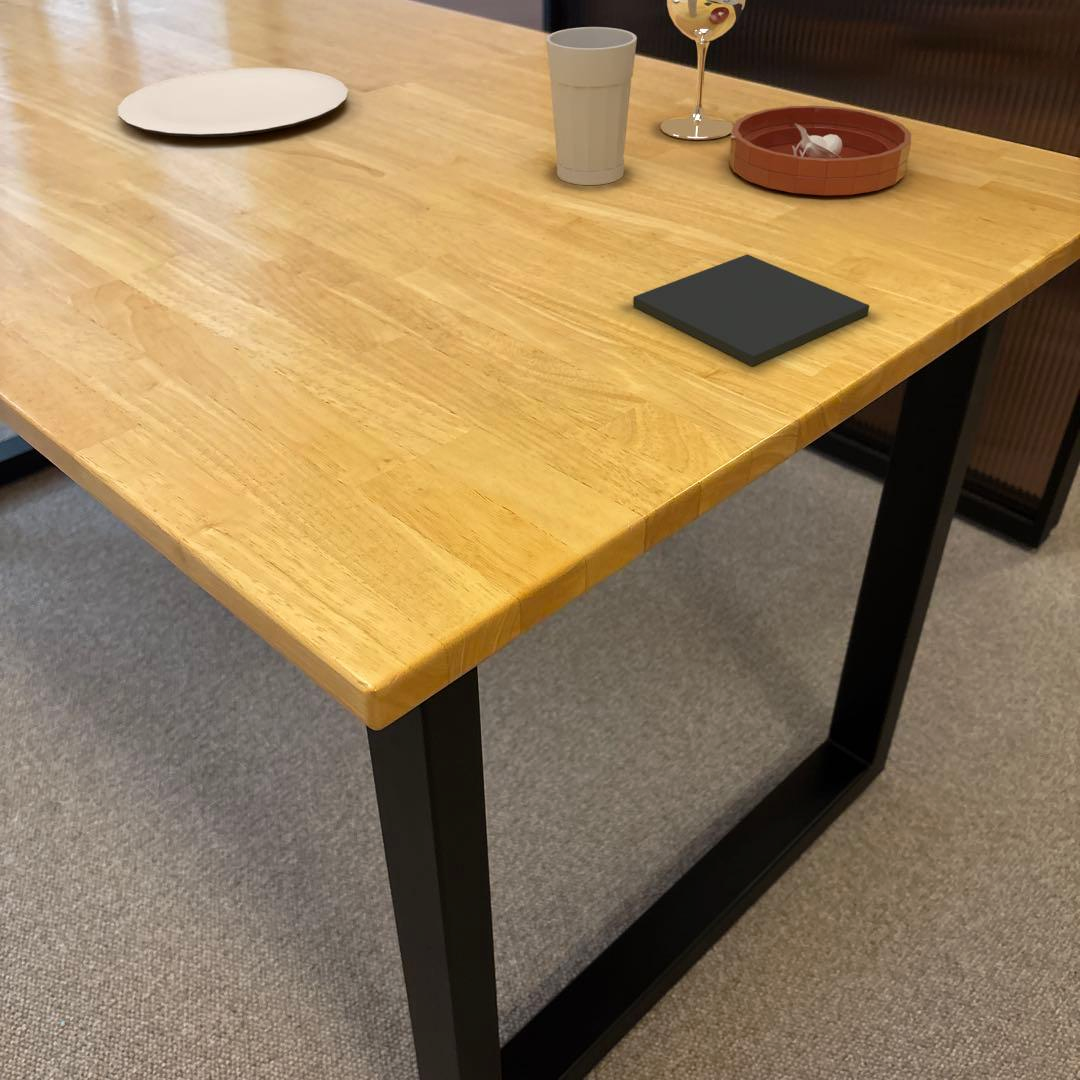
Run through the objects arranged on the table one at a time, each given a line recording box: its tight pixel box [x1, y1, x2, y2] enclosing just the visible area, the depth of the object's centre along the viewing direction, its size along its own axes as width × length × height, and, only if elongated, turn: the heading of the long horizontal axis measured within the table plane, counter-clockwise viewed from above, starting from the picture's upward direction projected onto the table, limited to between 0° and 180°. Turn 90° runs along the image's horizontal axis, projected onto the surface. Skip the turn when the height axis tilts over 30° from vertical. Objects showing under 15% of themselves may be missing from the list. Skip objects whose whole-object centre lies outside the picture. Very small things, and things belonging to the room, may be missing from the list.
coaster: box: [632, 253, 870, 367], centre depth 79 cm, size 12×12×1 cm
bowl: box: [728, 105, 912, 196], centre depth 102 cm, size 16×16×4 cm
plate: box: [117, 66, 349, 138], centre depth 120 cm, size 25×25×2 cm
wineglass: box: [660, 0, 747, 141], centre depth 107 cm, size 8×8×20 cm
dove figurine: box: [792, 123, 842, 159], centre depth 101 cm, size 8×5×5 cm, turn 19°
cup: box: [546, 26, 638, 186], centre depth 99 cm, size 8×8×12 cm
